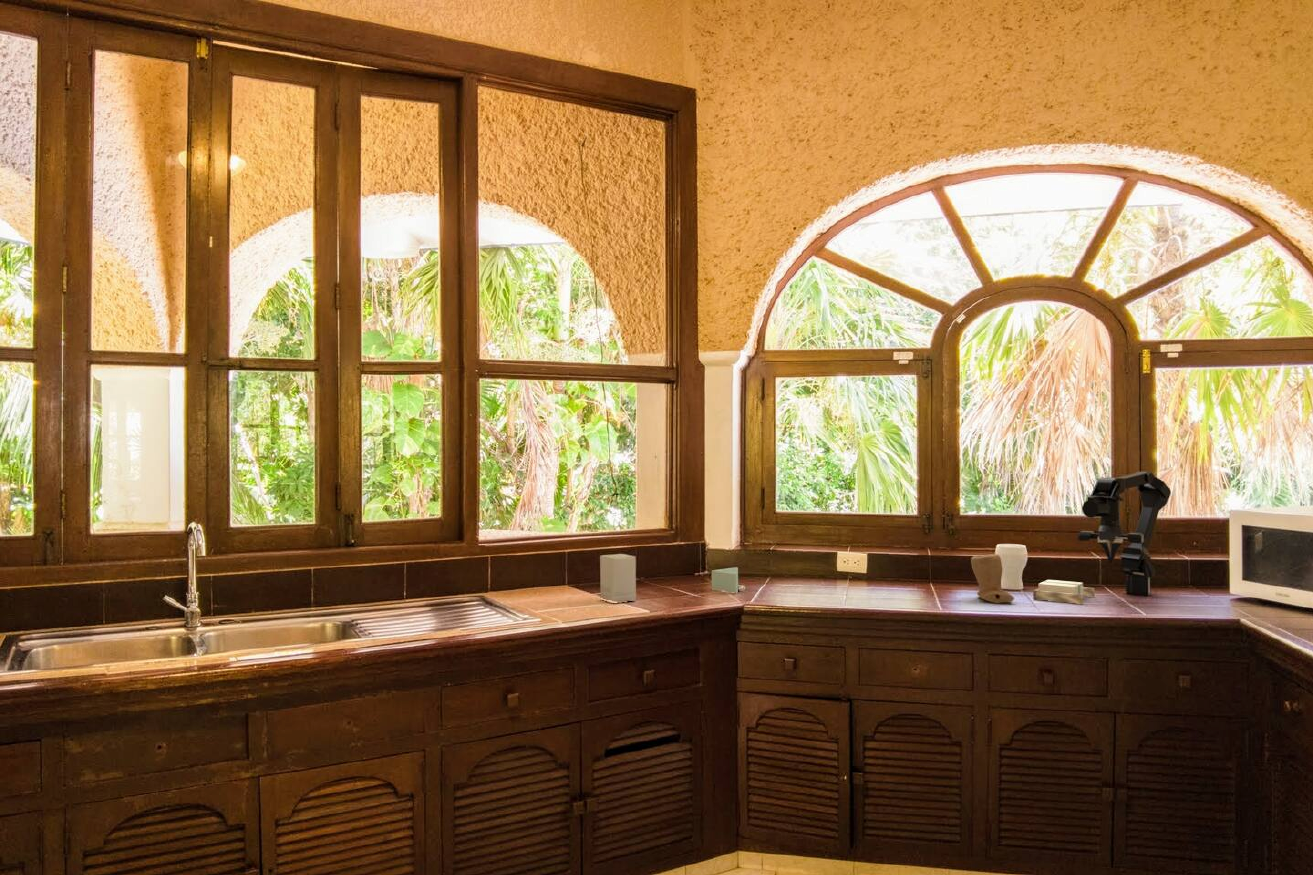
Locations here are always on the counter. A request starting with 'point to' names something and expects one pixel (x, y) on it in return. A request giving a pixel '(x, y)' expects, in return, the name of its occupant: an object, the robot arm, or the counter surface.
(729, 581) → the sage green wedge block
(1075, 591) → the carton
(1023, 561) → the cup
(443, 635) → the counter surface
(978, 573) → the brown boot
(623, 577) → the supplement box
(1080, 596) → the tan tray
